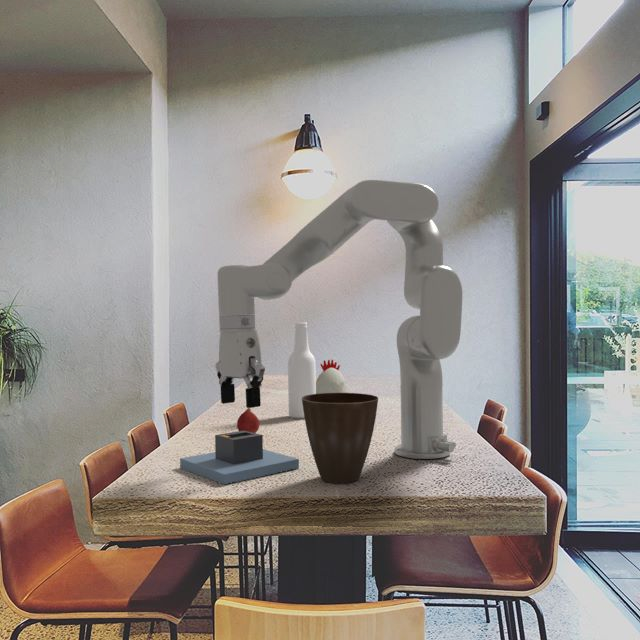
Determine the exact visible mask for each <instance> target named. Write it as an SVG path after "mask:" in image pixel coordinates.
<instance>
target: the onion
mask: <svg viewBox="0 0 640 640" xmlns="http://www.w3.org/2000/svg"><path fill="white" fill-rule="evenodd" d="M259 420H260V419H259V417H258V416H257V414H255V413H254V412H252V408H247V409H246V410H245V411H244V412H242V413H241V415H239V417H238V419H237V421H236V429H237V430H238V431H248V432H252V433H256V434H257V432H258V431H259V429H260V421H259Z"/></svg>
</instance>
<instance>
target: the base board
mask: <svg viewBox="0 0 640 640" xmlns="http://www.w3.org/2000/svg"><path fill="white" fill-rule="evenodd" d="M179 464H180V465H179V467H180V469H182V470H184V471H188V472H190V473H192V474H196V475H199V476H201V477H203V478H206V479H208V478H209V480H211V479H212V480H211V481H213V480H215V481H214V482H216V481H217V482H216V483H219V482H220V483H219V484H221V483H223V484H222V485H224V484H227V485H229V484H228V483H231V484H233V483H232V482H236V483H238V482H237V481H240V482H244V481H243V480H245V481H248V480H247V479H249V480H252V478H254V479H257V478H256V477H258V478H262V477H261V476H263V477H266V476H265V475H267V476H270V474H272V475H274V474H273V473H276V474H278V473H277V472H281V471H285V472H287V471H286V470H290V469H294V470H296V469H295V468H299V469H300V460H299V458H297V457H293V456H289V455H286V454H281V453H279V452H274V451H272V450H271V451H270V450H268V449H264V448H263V459H259V460H254V461H249V462H244V463H239V464H231V463H228V462H224V461H221V460H218V459H216V458H215V451H214V452H209V453H203V454H197V455H193V456H187V457H186V456H185V457H181V458H179ZM290 471H291V470H290ZM281 473H282V472H281Z"/></svg>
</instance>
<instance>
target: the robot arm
mask: <svg viewBox="0 0 640 640" xmlns="http://www.w3.org/2000/svg"><path fill="white" fill-rule="evenodd" d="M439 205H440V204H439V199H438V196H437V193H436V192H435V191H434V189H432V188H431V187H430V186H428V185H426V184H423V183H419V182H418V183H417V182H407V181H405V182H404V181H394V180H382V179H381V180H380V179H379V180H378V179H366V180H361V181H359V182H357V183H355V185H353V186H351V187H350V188H348V189H347V190H346V191H345V192H343V193H342V194H341V195H340V196H338V197H337V198H336V199H335V200H334V201H333V202H331V203H330V204H329V205H328V206H327V207H325V209H323V210H322V211H321V212H320V213H319V214H317V215H316V216H315V217H314V218H313V219H312V220H310V221H309V222H308V223H306V225H304V227H302V228H301V229H300V230H299V231H298V232H297V233H296V234H295V235H294V236H293V237H292V238H291V239H290V240H289V241H288V242H287V243H286V244H284V245H283V246H282V247H281V248H280V249H279V250H277V251H276V252H275V253H274V254H272V256H271V257H269V258H268V259H267V260H266V261H265V262H264V263H262V264H258V265H249V266H248V265H243V264H241V265H240V264H238V265H237V264H233V265H232V264H231V265H230V264H229V265H223V266H221V267H220V268H218V270H217V277H216V278H217V293H218V294H217V298H218V301H217V302H218V317H219V318H218V321H219V322H218V323H219V324H218V325H219V326H218V327H219V343H218V345H219V346H218V348H219V349H218V361H217V362H216V363H215V364H214V365H215V369H216V373H217V378H218V384H219V385H220V403H221V404H231V403H232V404H233V403H235V401H236V396H235V395H236V394H235V393H236V392H235V383H233V382H234V380H235V379H243V381H244V383H245V385H246V388H245V405H246V408H247V409H248V408H250V409H252V408H258V407H261V404H262V403H261V387H262V385H263V384H262V383H263V380H264V375H265V371H266V367H265V366H264V365H263V364H262V355H261V353H262V352H261V346H260V345H261V344H260V340H259V339H260V338H259V336H258V335H259V334H258V331H257V329H256V314H255V313H256V311H255V309H256V308H255V298H259V299H261V300H264V301H265V300H267V301H269V300H276V299H279V298H282V297H284V296H286V295H287V294H288V293H289V291H290V289H291V288H292V285H293V282H294V281H295V280H297V278H298V277H300V275H303V274H304V273H305V272H306V271H308V270H309V269H311V268H312V267H314V266H315V265H317V264H319V263H322V262H323V261H325V260H326V259H328V258H329V257H330V256H332V255H333V254H334V253H335V252H337V251H338V249H340V248H341V247H342V246H344V244H345V243H347V241H349V240H350V239H351V238H352V237H354V236H355V234H357V233H358V232H360V230H362V229H363V227H365V226H366V225H368V224H369V223H370V222H372V221H374V220H379V221H386V222H387V224H389V226H391V227H392V229H394V230H395V231H396V232H397V233H398V234H399V236H400V237H401V238H402V241H403V243H404V247H405V267H404V280H403V281H404V283H403V292H404V293H403V296H404V298H405V299H404V300H405V301H406V303H407V304H408V305H409V306H410V307H412V308H414V309H417V310H420V311H419V315H414V316H411V317H409V318H407V319H405V320H404V321H403V322H402V323H401V324H400V326H399V328H398V330H397V333H396V346H397V347H396V349H397V354H398V360H399V361H398V362H399V375H400V376H399V377H400V385H399V386H400V388H399V389H400V439H401V440H400V444H399V445H395V447H394V454H395V455H397V456H399V457H403V458H407V459H414V460H415V459H416V460H433V459H441V458H442V459H443V458H446V457H448V456H450V455H451V453H453V452H454V449H456V447H457V445H456V442H453V441H448V435H447V434H444V418H443V417H444V412H443V411H444V406H443V405H444V404H443V395H444V394H443V385H444V384H443V370H442V365H441V360H443V359H447V358H449V357H451V356H452V355H453V354H454V352H456V350H457V348H458V346H459V343H460V339H461V329H462V314H463V313H462V312H463V311H462V310H463V286H462V282H461V280H460V277H459V275H458V274H457V272H455V271H454V270H453V269H452V268H451V267H449V266H446V265H444V245H443V239H442V235H441V233H440V230H439V228H438V227H437V225H436V224H435V222H434V221H433V220H432V219H434V217H435V216H436V214H437V213H438V210H439Z"/></svg>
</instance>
